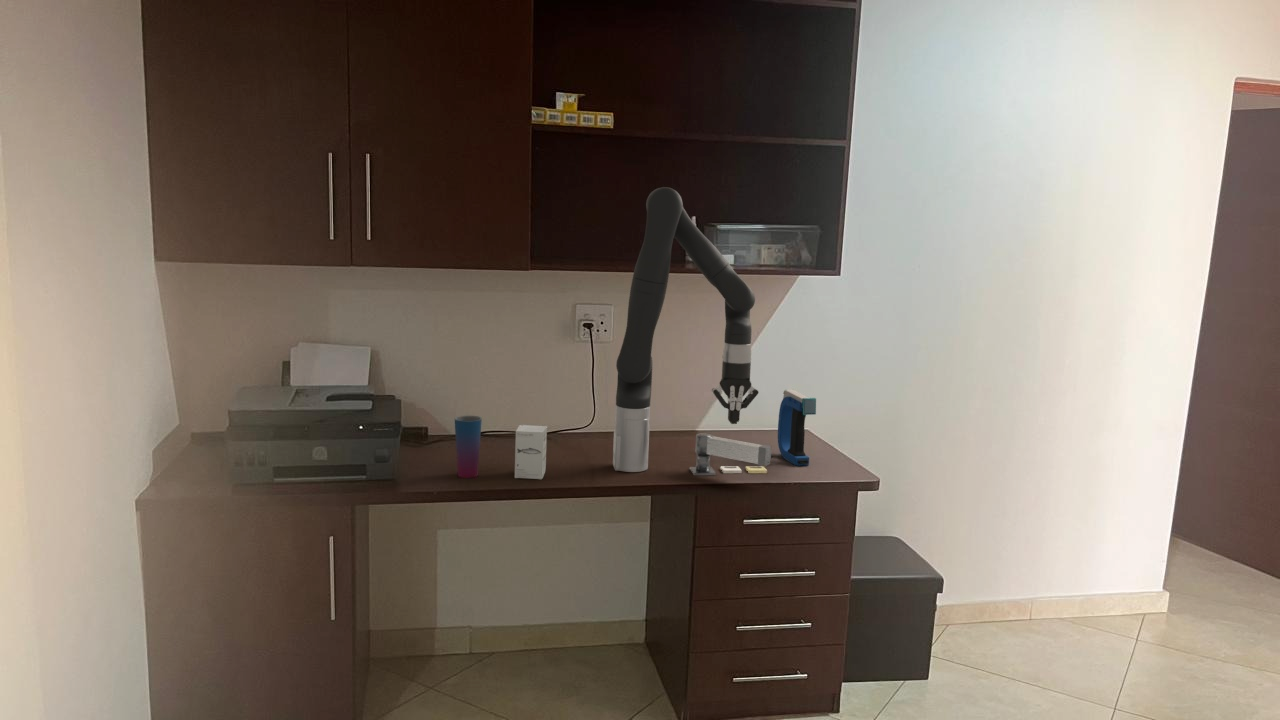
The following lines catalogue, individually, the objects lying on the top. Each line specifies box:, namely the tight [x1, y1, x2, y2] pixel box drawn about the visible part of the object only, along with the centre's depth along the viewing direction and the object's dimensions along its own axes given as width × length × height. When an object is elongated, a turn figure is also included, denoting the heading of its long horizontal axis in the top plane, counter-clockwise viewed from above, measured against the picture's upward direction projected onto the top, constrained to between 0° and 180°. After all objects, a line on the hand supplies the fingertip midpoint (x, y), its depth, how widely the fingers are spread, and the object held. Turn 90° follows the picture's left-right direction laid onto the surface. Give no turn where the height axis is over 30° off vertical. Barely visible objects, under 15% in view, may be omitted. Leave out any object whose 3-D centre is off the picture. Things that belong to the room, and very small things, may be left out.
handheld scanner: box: [777, 389, 817, 467], centre depth 265 cm, size 5×16×20 cm, turn 15°
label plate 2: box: [745, 465, 768, 474], centre depth 254 cm, size 5×4×1 cm
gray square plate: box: [689, 453, 717, 476], centre depth 251 cm, size 6×6×5 cm
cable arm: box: [694, 432, 772, 467], centre depth 245 cm, size 21×4×5 cm, turn 57°
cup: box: [454, 414, 483, 479], centre depth 239 cm, size 7×7×15 cm
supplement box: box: [514, 424, 548, 480], centre depth 241 cm, size 7×7×13 cm
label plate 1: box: [720, 465, 743, 474], centre depth 253 cm, size 5×4×1 cm
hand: (733, 423), depth 251 cm, fingers closed
